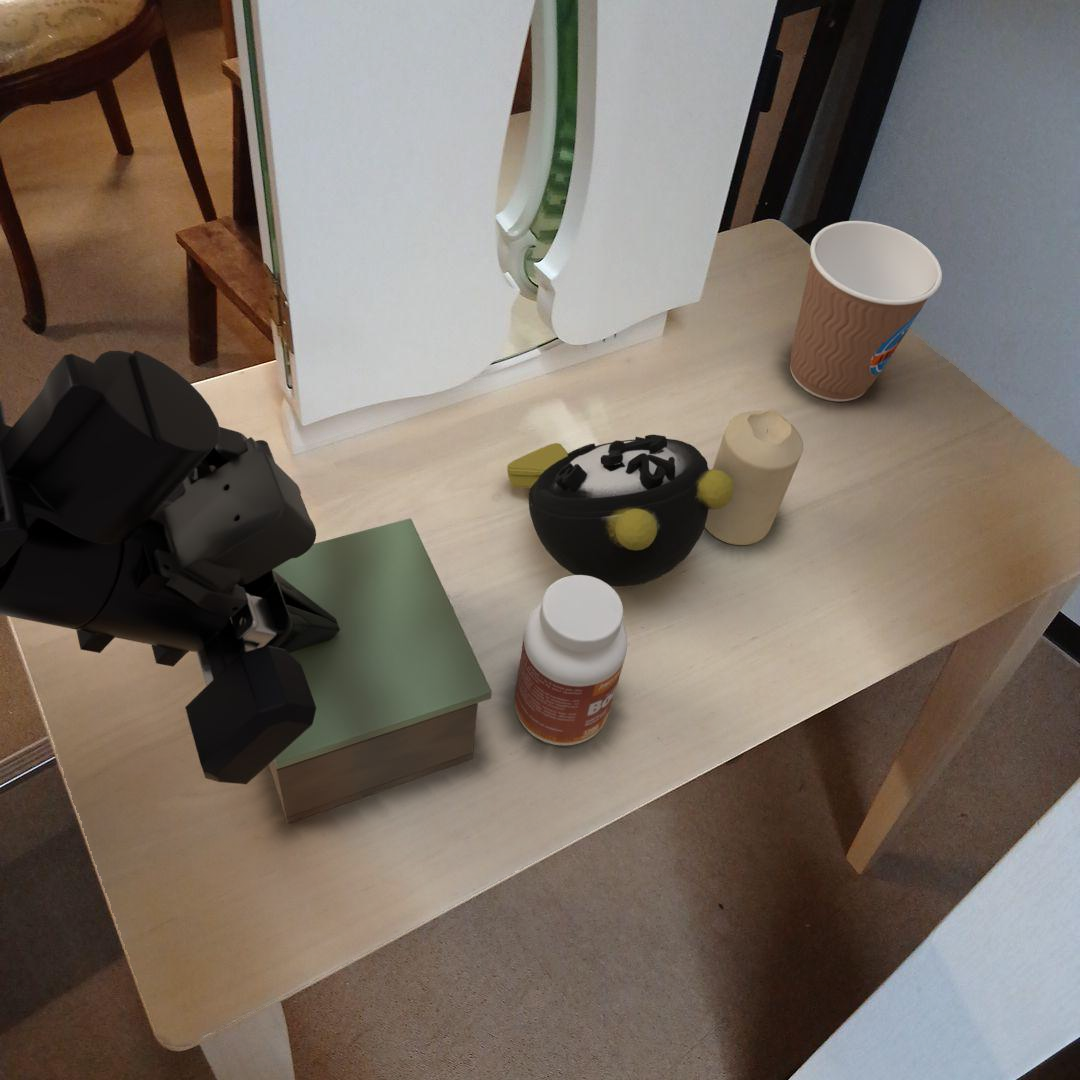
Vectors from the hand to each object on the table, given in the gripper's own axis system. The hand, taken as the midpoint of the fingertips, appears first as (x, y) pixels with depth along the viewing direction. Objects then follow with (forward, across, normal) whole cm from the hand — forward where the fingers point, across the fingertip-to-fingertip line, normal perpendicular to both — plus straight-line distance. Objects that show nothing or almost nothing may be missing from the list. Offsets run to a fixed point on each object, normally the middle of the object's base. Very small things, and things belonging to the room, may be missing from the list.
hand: (333, 629), depth 61 cm
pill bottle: (+15, -5, -3) cm, 16 cm away
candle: (+29, +5, -17) cm, 33 cm away
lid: (+1, 0, 0) cm, 1 cm away
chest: (+6, 0, +5) cm, 8 cm away
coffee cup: (+40, +16, -28) cm, 52 cm away
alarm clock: (+21, +6, -9) cm, 23 cm away
